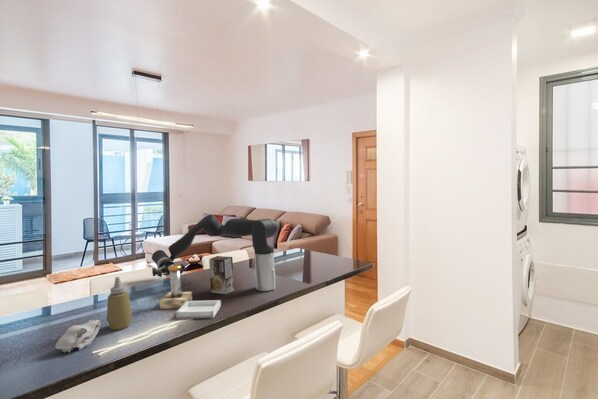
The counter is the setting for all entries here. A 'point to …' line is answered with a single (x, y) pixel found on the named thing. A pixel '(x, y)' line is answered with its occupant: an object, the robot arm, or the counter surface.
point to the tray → (199, 309)
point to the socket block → (175, 300)
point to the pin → (175, 281)
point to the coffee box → (221, 274)
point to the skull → (78, 336)
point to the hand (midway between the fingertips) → (170, 273)
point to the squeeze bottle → (118, 307)
